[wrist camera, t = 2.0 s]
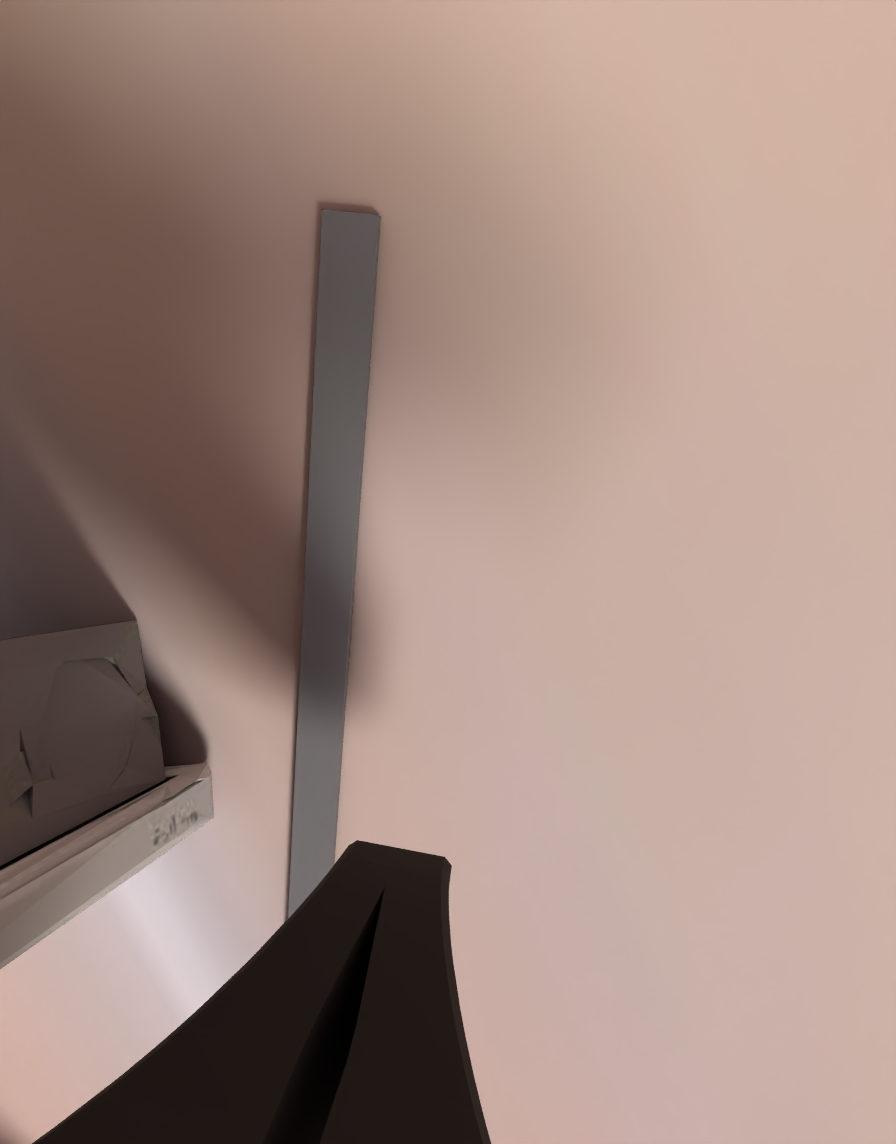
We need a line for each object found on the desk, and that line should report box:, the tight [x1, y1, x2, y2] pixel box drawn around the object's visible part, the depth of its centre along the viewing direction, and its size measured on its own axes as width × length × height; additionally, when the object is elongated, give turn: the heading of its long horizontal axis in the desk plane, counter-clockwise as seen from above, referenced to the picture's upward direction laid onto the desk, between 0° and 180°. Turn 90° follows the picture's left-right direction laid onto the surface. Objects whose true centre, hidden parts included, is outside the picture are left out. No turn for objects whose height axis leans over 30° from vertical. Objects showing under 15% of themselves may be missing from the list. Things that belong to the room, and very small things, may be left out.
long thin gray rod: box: [288, 209, 381, 918], centre depth 13 cm, size 18×1×1 cm, turn 174°
